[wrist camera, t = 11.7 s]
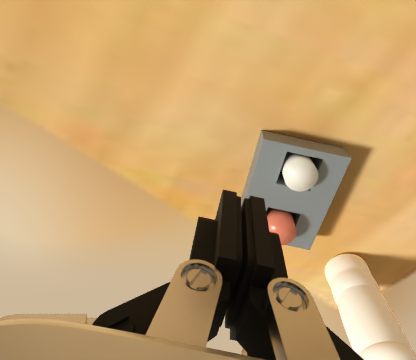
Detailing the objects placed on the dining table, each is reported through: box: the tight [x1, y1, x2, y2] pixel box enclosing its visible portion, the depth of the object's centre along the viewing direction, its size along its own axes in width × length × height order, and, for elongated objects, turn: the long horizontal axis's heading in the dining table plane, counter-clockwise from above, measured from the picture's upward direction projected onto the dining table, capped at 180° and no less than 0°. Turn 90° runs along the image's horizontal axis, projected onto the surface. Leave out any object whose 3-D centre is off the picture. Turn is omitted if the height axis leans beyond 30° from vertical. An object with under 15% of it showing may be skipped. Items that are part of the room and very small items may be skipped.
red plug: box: [266, 207, 297, 245], centre depth 45 cm, size 4×4×4 cm
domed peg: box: [281, 152, 318, 191], centre depth 42 cm, size 4×4×4 cm
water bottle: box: [325, 254, 416, 360], centre depth 42 cm, size 7×7×25 cm
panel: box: [241, 130, 352, 250], centre depth 45 cm, size 12×16×4 cm
